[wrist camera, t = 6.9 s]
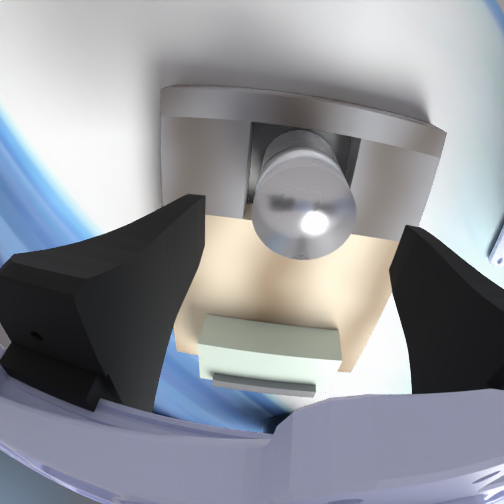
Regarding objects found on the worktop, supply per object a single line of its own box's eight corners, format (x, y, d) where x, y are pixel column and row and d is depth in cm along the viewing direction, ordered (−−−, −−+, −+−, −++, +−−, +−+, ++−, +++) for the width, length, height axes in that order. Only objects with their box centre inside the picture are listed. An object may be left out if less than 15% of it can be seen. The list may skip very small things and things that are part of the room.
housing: (431, 124, 14) (446, 132, 13) (348, 353, 25) (350, 372, 23) (174, 85, 15) (160, 88, 13) (183, 332, 26) (177, 351, 24)
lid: (338, 330, 21) (343, 368, 18) (324, 364, 23) (326, 399, 20) (206, 314, 21) (195, 351, 18) (207, 350, 23) (198, 384, 21)
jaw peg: (342, 137, 16) (368, 177, 11) (327, 203, 18) (341, 266, 13) (267, 124, 16) (258, 158, 11) (259, 192, 18) (246, 252, 13)
